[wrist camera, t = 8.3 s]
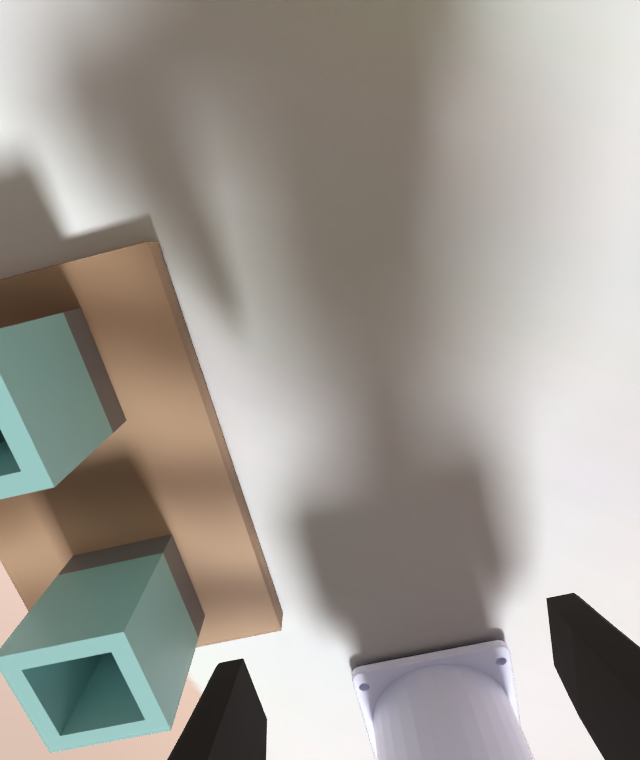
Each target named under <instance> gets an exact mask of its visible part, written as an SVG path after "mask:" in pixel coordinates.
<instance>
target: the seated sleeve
mask: <svg viewBox="0 0 640 760" xmlns="http://www.w3.org/2000/svg"><path fill="white" fill-rule="evenodd" d="M204 618H205V614H204V612H203V609H202V607H201V604H200V602H199V599H198V597H197V594H196V592H195V589H194V587H193V584H192V582H191V579H190V577H189V574H188V572H187V569H186V567H185V565H184V562H183V560H182V557H181V555H180V552H179V550H178V547H177V545H176V542H175V540H174V537H173V535H172V534H171V535H166V536H162V537H157V538H152V539H148V540H143V541H138V542H134V543H129V544H124V545H120V546H115V547H110V548H106V549H101V550H97V551H92V552H87V553H83V554H78V555H73V556H72V558H71V559H70V560H69V561H68V563H67V564H66V565H65V566H64V568H63V569H62V570H61V572H60V573H59V574H58V575H57V577H56V578H55V579H54V581H53V582H52V583H51V584H50V586H49V587H48V588H47V589H46V591H45V592H44V593H43V595H42V596H41V597H40V598H39V600H38V601H37V602H36V604H35V605H34V606H33V607H32V609H31V610H30V611H29V612H28V614H27V615H26V616H25V618H24V619H23V620H22V621H21V623H20V624H19V625H18V626H17V628H16V629H15V630H14V632H13V633H12V634H11V635H10V637H9V638H8V639H7V641H6V642H5V643H4V644H3V646H2V647H1V648H0V672H1V673H2V675H3V676H4V678H5V680H6V681H7V683H8V685H9V686H10V688H11V690H12V691H13V693H14V694H15V696H16V698H17V700H18V701H19V703H20V704H21V706H22V708H23V709H24V711H25V712H26V714H27V716H28V718H29V719H30V721H31V722H32V724H33V726H34V727H35V729H36V731H37V732H38V734H39V736H40V737H41V739H42V741H43V742H44V744H45V745H46V747H47V748H48V750H49V752H50V753H52V752H57V751H63V750H68V749H73V748H79V747H83V746H90V745H94V744H100V743H106V742H111V741H116V740H121V739H127V738H132V737H138V736H143V735H149V734H154V733H159V732H164V731H170V730H171V728H172V725H173V722H174V718H175V715H176V712H177V708H178V705H179V701H180V698H181V695H182V692H183V688H184V685H185V682H186V678H187V675H188V672H189V668H190V665H191V662H192V658H193V655H194V652H195V648H196V645H197V642H198V638H199V635H200V632H201V628H202V625H203V621H204Z"/></svg>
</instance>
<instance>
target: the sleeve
mask: <svg viewBox="0 0 640 760" xmlns="http://www.w3.org/2000/svg"><path fill="white" fill-rule="evenodd" d="M126 421H127V420H126V418H125V415H124V413H123V410H122V408H121V405H120V403H119V400H118V398H117V395H116V393H115V390H114V388H113V385H112V383H111V380H110V378H109V375H108V373H107V370H106V368H105V365H104V363H103V360H102V358H101V355H100V353H99V350H98V348H97V345H96V343H95V340H94V338H93V335H92V333H91V330H90V328H89V326H88V323H87V321H86V318H85V316H84V313H83V311H82V308H78V309H74V310H70V311H66V312H62V313H58V314H54V315H50V316H46V317H42V318H38V319H34V320H30V321H26V322H22V323H18V324H14V325H10V326H6V327H2V328H0V499H5V498H9V497H14V496H18V495H22V494H27V493H31V492H36V491H40V490H45V489H49V488H54V487H55V486H56V485H57V484H59V483H60V482H61V481H62V480H63V479H64V478H65V477H66V476H67V475H68V474H69V473H70V472H72V471H73V470H74V469H75V468H76V467H77V466H78V465H79V464H80V463H81V462H82V461H83V460H85V459H86V458H87V457H88V456H89V455H90V454H91V453H92V452H93V451H94V450H95V449H96V448H97V447H99V446H100V445H101V444H102V443H103V442H104V441H105V440H106V439H107V438H108V437H109V436H110V435H112V434H113V433H114V432H115V431H116V430H117V429H118V428H119V427H120V426H121V425H122V424H123V423H125V422H126Z"/></svg>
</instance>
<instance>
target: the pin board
mask: <svg viewBox="0 0 640 760" xmlns="http://www.w3.org/2000/svg"><path fill="white" fill-rule="evenodd" d="M78 308H82V311H83V313H84V316H85V318H86V321H87V323H88V326H89V328H90V330H91V333H92V335H93V338H94V340H95V343H96V345H97V348H98V350H99V353H100V355H101V358H102V360H103V363H104V365H105V368H106V370H107V373H108V375H109V378H110V380H111V383H112V385H113V388H114V390H115V393H116V395H117V398H118V400H119V403H120V405H121V408H122V410H123V413H124V415H125V418H126V420H127V421H126V422H125V423H123V424H122V425H121V426H120V427H119V428H118V429H117V430H116V431H115V432H114V433H113V434H112V435H110V436H109V437H108V438H107V439H106V440H105V441H104V442H103V443H102V444H101V445H100V446H99V447H97V448H96V449H95V450H94V451H93V452H92V453H91V454H90V455H89V456H88V457H87V458H86V459H85V460H83V461H82V462H81V463H80V464H79V465H78V466H77V467H76V468H75V469H74V470H73V471H72V472H70V473H69V474H68V475H67V476H66V477H65V478H64V479H63V480H62V481H61V482H60V483H59V484H57V485H56V486H55V487H54V488H49V489H45V490H40V491H36V492H31V493H27V494H22V495H18V496H14V497H9V498H5V499H0V560H1V562H2V564H3V566H4V568H5V570H6V571H7V573H8V575H9V577H10V578H11V580H12V582H13V584H14V586H15V588H16V589H17V591H18V593H19V595H20V597H21V598H22V600H23V602H24V604H25V606H26V607H27V609H28V611H30V610H31V609H32V607H33V606H34V605H35V604H36V602H37V601H38V600H39V598H40V597H41V596H42V595H43V593H44V592H45V591H46V589H47V588H48V587H49V586H50V584H51V583H52V582H53V581H54V579H55V578H56V577H57V575H58V574H59V573H60V572H61V570H62V569H63V568H64V566H65V565H66V564H67V563H68V561H69V560H70V559H71V558H72V556H73V555H78V554H83V553H87V552H92V551H97V550H101V549H106V548H110V547H115V546H120V545H124V544H129V543H134V542H138V541H143V540H148V539H152V538H157V537H162V536H166V535H171V534H172V535H173V537H174V540H175V542H176V545H177V547H178V550H179V552H180V555H181V557H182V560H183V562H184V565H185V567H186V569H187V572H188V574H189V577H190V579H191V582H192V584H193V587H194V589H195V592H196V594H197V597H198V599H199V602H200V604H201V607H202V609H203V612H204V614H205V618H204V621H203V625H202V628H201V632H200V635H199V638H198V642H197V645H196V647H200V646H205V645H210V644H215V643H220V642H225V641H230V640H235V639H241V638H246V637H251V636H256V635H261V634H266V633H271V632H276V631H281V627H282V616H283V613H282V610H281V607H280V604H279V601H278V598H277V595H276V592H275V589H274V586H273V583H272V580H271V577H270V574H269V571H268V568H267V565H266V562H265V559H264V556H263V553H262V550H261V547H260V544H259V541H258V538H257V535H256V532H255V529H254V526H253V523H252V520H251V517H250V514H249V511H248V508H247V505H246V502H245V499H244V496H243V494H242V491H241V488H240V485H239V482H238V479H237V476H236V473H235V470H234V467H233V464H232V461H231V458H230V455H229V452H228V449H227V446H226V443H225V440H224V437H223V434H222V431H221V428H220V425H219V422H218V419H217V416H216V413H215V410H214V407H213V404H212V401H211V398H210V395H209V392H208V389H207V386H206V383H205V380H204V378H203V375H202V372H201V369H200V366H199V363H198V360H197V357H196V354H195V351H194V348H193V345H192V342H191V339H190V336H189V333H188V330H187V327H186V324H185V321H184V318H183V315H182V312H181V309H180V306H179V303H178V300H177V297H176V294H175V291H174V288H173V285H172V282H171V279H170V276H169V273H168V270H167V267H166V264H165V262H164V259H163V256H162V253H161V250H160V247H159V244H158V242H154V241H147V242H143V243H140V244H136V245H132V246H128V247H124V248H120V249H117V250H113V251H109V252H105V253H101V254H97V255H94V256H90V257H86V258H82V259H78V260H74V261H70V262H67V263H63V264H59V265H55V266H51V267H47V268H44V269H40V270H36V271H32V272H28V273H24V274H20V275H17V276H13V277H9V278H5V279H1V280H0V328H2V327H6V326H10V325H14V324H18V323H22V322H26V321H30V320H34V319H38V318H42V317H46V316H50V315H54V314H58V313H62V312H66V311H70V310H74V309H78Z"/></svg>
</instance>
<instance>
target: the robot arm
mask: <svg viewBox="0 0 640 760" xmlns="http://www.w3.org/2000/svg"><path fill="white" fill-rule="evenodd" d="M547 607H548V616H549V624H550V633H551V642H552V651H553V660H554V666H555V668H556V670H557V672H558V674H559V676H560V678H561V680H562V683H563V685H564V687H565V689H566V691H567V693H568V695H569V697H570V699H571V701H572V703H573V705H574V707H575V709H576V711H577V713H578V715H579V717H580V719H581V721H582V722H583V724H584V726H585V727H586V729H587V731H588V732H589V734H590V736H591V737H592V739H593V741H594V742H595V744H596V746H597V747H598V749H599V751H600V752H601V754H602V756H603V757H604V759H605V760H640V647H639V646H638V645H637V644H635V643H634V642H633V641H632V640H630V639H629V638H628V637H627V636H626V635H624V634H623V633H622V632H621V631H619V630H618V629H617V628H616V627H615V626H613V625H612V624H611V623H610V622H609V621H607V620H606V619H605V618H604V617H603V616H601V615H600V614H599V613H598V612H597V611H596V610H594V609H593V608H592V607H591V606H590V605H588V604H587V603H586V602H585V601H584V600H583V599H581V598H580V597H579V596H578V595H576V594H574V593H571V594H566V595H561V596H556V597H550V598H547ZM352 681H353V684H354V688H355V691H356V694H357V698H358V701H359V705H360V708H361V712H362V715H363V718H364V722H365V725H366V729H367V732H368V735H369V739H370V742H371V746H372V749H373V752H374V756H375V759H376V760H535V759H534V757H533V755H532V752H531V750H530V748H529V745H528V743H527V741H526V738H525V736H524V733H523V731H522V729H521V725H520V718H519V712H518V705H517V698H516V691H515V684H514V677H513V670H512V663H511V657H510V651H509V648H508V646H507V644H506V643H505V642H504V641H501V640H494V641H489V642H484V643H479V644H473V645H468V646H463V647H458V648H452V649H447V650H442V651H437V652H431V653H426V654H421V655H416V656H410V657H405V658H400V659H395V660H389V661H384V662H379V663H374V664H369V665H363V666H359V667H356V668H355V669H354V670H353V671H352ZM266 736H267V718H266V716H265V713H264V711H263V708H262V705H261V703H260V700H259V698H258V695H257V693H256V690H255V688H254V685H253V682H252V680H251V677H250V675H249V672H248V670H247V667H246V664H245V662H244V659H238V660H233V661H228V662H223V663H219V664H218V665H217V667H216V668H215V670H214V672H213V674H212V676H211V678H210V680H209V682H208V684H207V686H206V688H205V690H204V692H203V694H202V696H201V698H200V699H199V702H198V703H197V705H196V707H195V709H194V711H193V713H192V715H191V717H190V719H189V721H188V722H187V724H186V726H185V728H184V730H183V732H182V734H181V736H180V738H179V739H178V741H177V743H176V745H175V747H174V749H173V750H172V752H171V754H170V756H169V758H168V759H167V760H266Z"/></svg>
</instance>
